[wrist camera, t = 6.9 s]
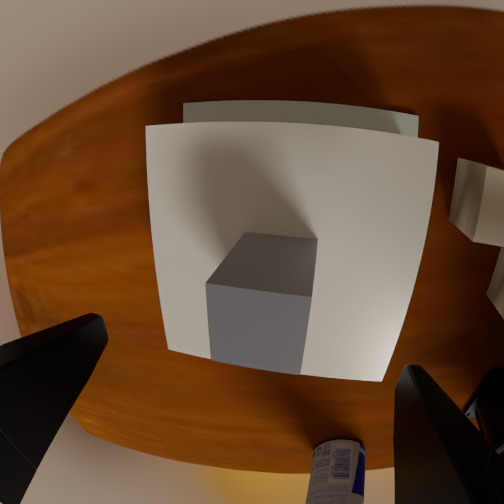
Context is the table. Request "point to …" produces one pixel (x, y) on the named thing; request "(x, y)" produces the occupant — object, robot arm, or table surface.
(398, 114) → the mat
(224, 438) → the table surface
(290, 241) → the cover
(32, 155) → the table surface
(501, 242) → the token cube
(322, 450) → the beverage can
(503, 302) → the token cube
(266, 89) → the table surface
